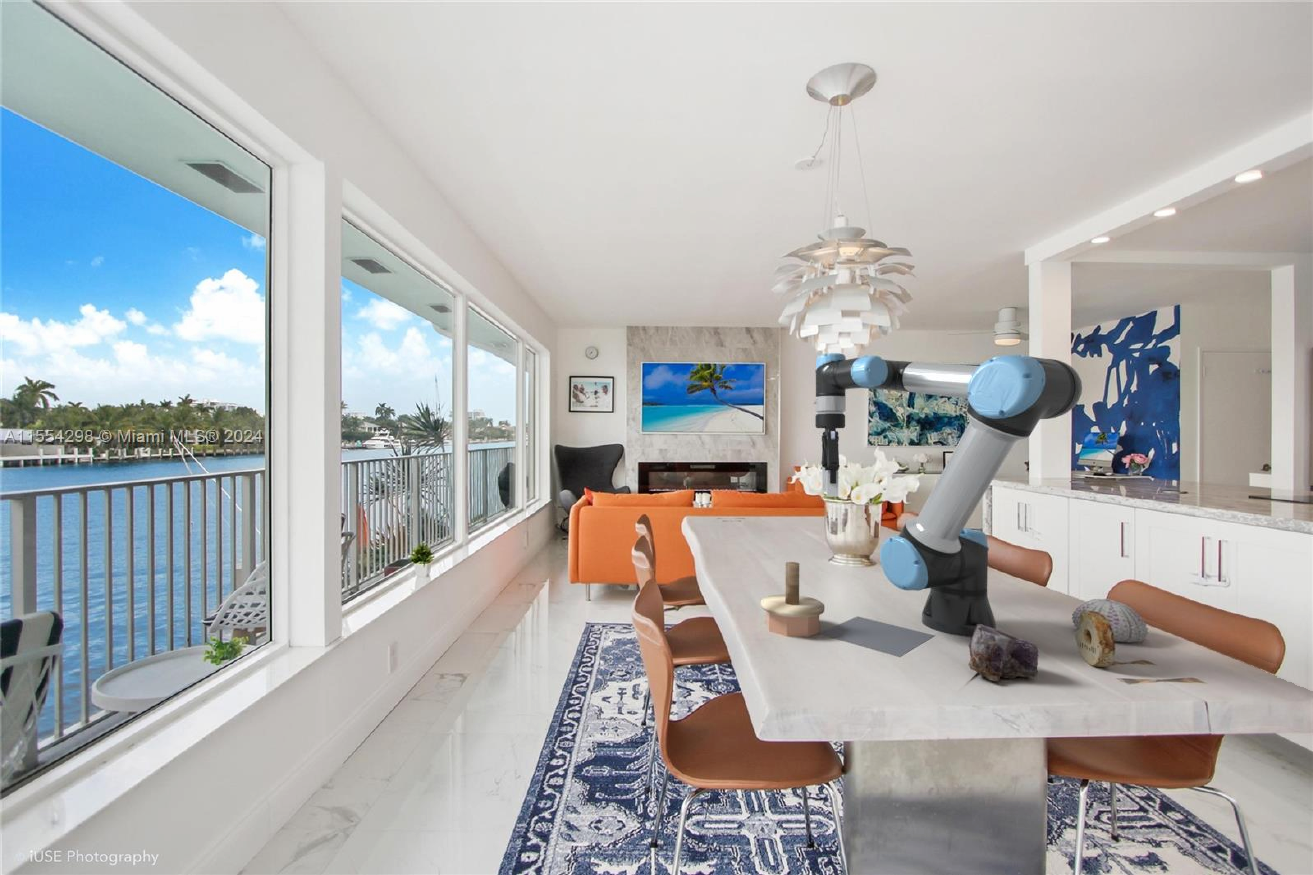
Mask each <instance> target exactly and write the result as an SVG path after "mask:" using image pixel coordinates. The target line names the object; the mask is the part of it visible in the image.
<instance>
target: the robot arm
mask: <svg viewBox="0 0 1313 875" xmlns="http://www.w3.org/2000/svg"><path fill="white" fill-rule="evenodd" d="M815 363H816V364H815V400H813V402H812V404H813V405H815V412H816V413H817V414H816V415H815V418H814V419H815V428H816V429H824V431H822V435H821V442H822V444H821V448H822V449H821V452H822V453H821V462H820V463H821V473H822V474H821V492H822V493H823V492H824V493H826V497H827V498H828V497H830V498H831V497H832V498H839V469H840V467H841V466H840V456H839V455H840V452H839V440H840V436H839V432H838V431H837V429H845V427H846V415H845V412H846V410H847V409H846V405H847V404H846V400H847V399H846V398H847V396H846V393H847V392H846V390H851V389H852V390H853V389H854V390H855V389H869V390H870V389H871V390H887V391H897V392H899V391H900V392H906V393H907V392H908V393H915V394H924V395H932V396H941V397H948V398H949V397H950V398H958V399H964V400H968V403H969V405H968V407H967V409H966V412H965V413H966V415H967V418H968V421H969V423H968V425H967V427H966V428H965V429H964V431H963V433H962V435H961V437H960V440H959V442H958V443H957V445H956V447H955V449H954V450H953V452H952V453H951V456H950V458H949V460H948V461H947V463H946V465H945V467H944V469H943V470H942V472H941V473H940V476H939V478H938V480H937V481H936V484H935V485H934V486H933V489H932V491H931V492H930V494H929V496H928V498H927V500H926V502H925V503H924V505H923V507H922V508H921V511H920V512H919V514H918V516H916V517H915V516H914V517H910V518H909V519H907V520H906V522H905V523H904V525H903V527H902V528H901V529H902V530H901V531H900V532H899V534H898V535H894V536H891V537H888V538H887V539H886V540H885V541H883V543H882V544H881V546H880V550H879V560H880V564H881V569H882V572H883V573H884V575H885V576H886V578H887V580H888V581H889V582H890V583H891V584H892V585H894V586H895V587H896V588H898V589H900V590H903V591H909V592H910V591H918V592H919V591H922V590H926V589H930V590H929V593H928V596H927V599H926V601H925V604H924V606H923V610H922V612H921V613H922V614H921V623H922V624H923V625H924V626H925V627H928V628H929V629H932V630H934V631H937V632H940V633H942V634H943V633H944V634H948V635H952V636H958V637H965V638H967V637H968V638H972V636H973V633H974V630H975V628H976V626H977V624H982V625H984V626H988V627H991V628H993V629H996V630H997V623H996V618H995V616H994V613H993V609H992V608H991V604H990V601H989V598H988V573H989V572H988V570H989V567H988V563H989V560H988V557H989V544H988V537H987V534H986V533H985V532H983V531H982V530H978V529H977V530H976V529H973V528H972V529H971V528H965V526H966V525H967V523H968V522H969V520H970V518H971V516H972V515H973V513H974V511H975V510H976V508H977V506H978V504H979V503H980V502H981V500H982V498H983V496H984V495H985V493H986V492H987V490H988V488H990V487H989V486H990V484H991V483H992V481H993V480H994V478H995V477H996V475H997V473H998V472H999V470H1000V468H1001V466H1002V465H1003V464H1004V462H1005V460H1006V458H1007V457H1008V455H1009V453H1010V452H1011V450H1012V449H1013V446H1014V445H1015V443H1016V442H1018V441H1020V440H1025V439H1028V438H1029V437H1030V436H1031V434H1032V433H1033V431H1034V429H1035V428H1036V426H1037V424H1038V423H1039V422H1040V420H1048V419H1049V420H1050V419H1056V418H1058V417H1061V416H1064V415H1066V414H1068V413H1069V412H1070V411H1071V410H1072V409H1074V408H1075V406H1076V405H1077V404H1078V402H1079V401H1080V398H1081V396H1082V394H1083V385H1082V384H1083V383H1082V379H1081V377H1080V375H1079V372H1077V371H1076V370H1075V368H1074V367H1072V366H1071V365H1070V364H1068V363H1066V362H1064V361H1062V360H1058V359H1053V358H1043V357H1035V356H1028V355H1025V354H1017V353H1015V354H1005V355H1004V354H1002V355H998V356H995V357H992V358H990V359H987V360H985V361H984V362H982V363H981V364H980V365H969V364H954V363H953V364H952V363H938V362H937V363H936V362H935V363H934V362H923V361H922V362H919V361H916V362H914V361H905V360H891V359H890V360H889V359H883V358H882V357H881V356H879V355H863V356H860V357H854V358H848V359H846V355H845V354H843V353H838V352H832V353H831V352H830V353H821V354H819V355H818V356H817V357H816V362H815Z"/></svg>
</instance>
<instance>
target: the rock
mask: <svg viewBox="0 0 1313 875" xmlns="http://www.w3.org/2000/svg"><path fill="white" fill-rule="evenodd" d="M968 647H969V655H970V661H969V662H968V666H969V669H970V670H971V671H975V672H976V673H978V674H980V675H981V676H984V677H985V678H986V679H988V680H989V681H991V682H999V681H1000V678H1001V677H1002V678H1004V679H1015V678H1017V677H1020V678H1029V677H1032V678H1035V677H1036V676H1037V675H1038V665H1039V659H1038V658H1039V650H1038V646H1037V645H1036V644H1034V643H1031V642H1030V641H1027V640H1023V639H1020V638H1018V637H1014V636H1012V635H1009V634H1007V633H1005V632H1004V631H1001V630H998V629H997V628H996V629H993V628H991V627H988V626H984V625H982V624H977V626H976V628H975V630H974V633H973V636H972V637H971V639H970V641H969V644H968Z"/></svg>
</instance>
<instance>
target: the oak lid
mask: <svg viewBox="0 0 1313 875" xmlns="http://www.w3.org/2000/svg"><path fill="white" fill-rule="evenodd" d="M760 608H761V609H762V610H763V611H765V612H766V611H767V612H770V613H773V614H776V615H781V616H787V617H813V616H817V615H819V616H820V615H822V614H823V613H825V603H824V602H822V601H820V600H818V599H815V598H813V597H809V596H804V595H800V563H799V562H796V561H795V562H794V561H787V562H785V594H774V595H768V596H765V597H763V598H762V599H761V600H760Z"/></svg>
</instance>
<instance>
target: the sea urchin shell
mask: <svg viewBox="0 0 1313 875" xmlns="http://www.w3.org/2000/svg"><path fill="white" fill-rule="evenodd" d="M1082 611H1095V612H1098V613H1100V614H1102V615H1103V616H1104V617H1106V618H1107V619H1108V621H1109V622H1110V625H1111V627H1112V631H1113V635H1114V642H1121V643H1122V642H1124V643H1139V642H1143V641H1144V640H1146V638H1147V637H1148V635H1149V631H1148V630H1149V628H1148V627H1147V623H1145V621H1144V619H1143V618H1142V616H1141V615H1140V614H1139V613H1137V612H1136V610H1134V609H1133V608H1132V607H1130V606H1129V605H1127V604H1125V603H1123V602H1120V601H1115V600H1113V599H1108V598H1101V599H1100V598H1094V599H1090V600H1087V601H1085V602H1083V603H1082V604H1080V605H1079V606H1078V607H1076V608H1075V610H1074V611H1073V613H1071V615H1072V617H1071V620H1072V623H1073V626H1074V628H1076V631H1077V630H1079V625H1080V624H1079V620H1080V619H1079V615H1080V613H1081V612H1082Z"/></svg>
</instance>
